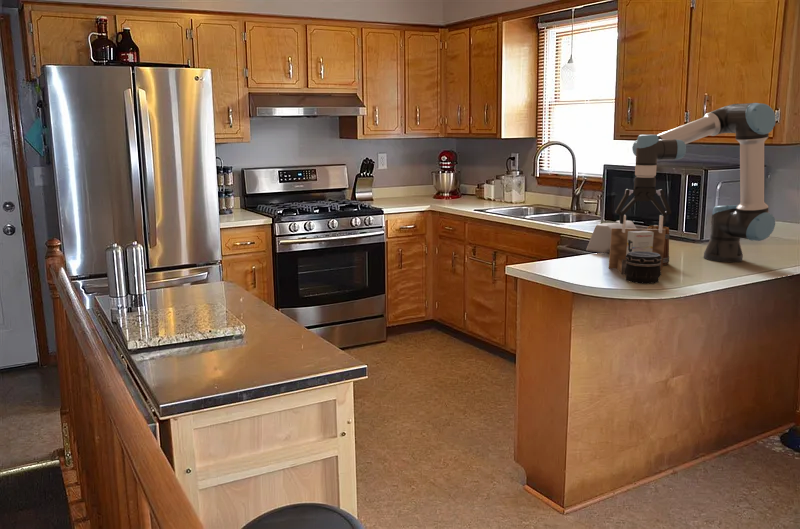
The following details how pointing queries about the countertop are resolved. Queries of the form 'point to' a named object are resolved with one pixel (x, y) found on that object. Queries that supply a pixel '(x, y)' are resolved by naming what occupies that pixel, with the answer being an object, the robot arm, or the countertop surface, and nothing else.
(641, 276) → the container
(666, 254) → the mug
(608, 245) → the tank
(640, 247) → the ink box
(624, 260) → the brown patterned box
